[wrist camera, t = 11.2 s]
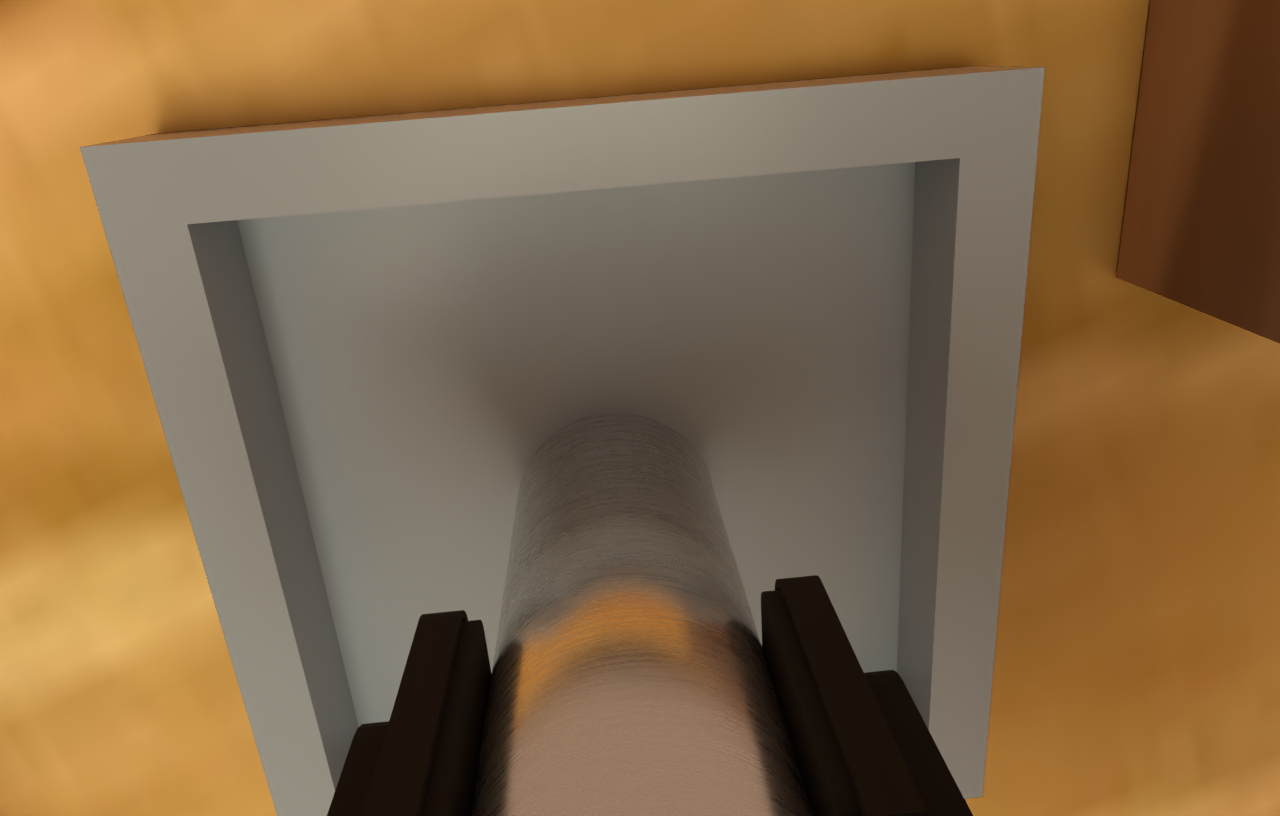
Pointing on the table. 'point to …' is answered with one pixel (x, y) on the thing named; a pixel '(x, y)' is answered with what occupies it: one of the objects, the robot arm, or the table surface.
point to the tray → (586, 362)
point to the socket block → (1208, 162)
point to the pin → (628, 643)
